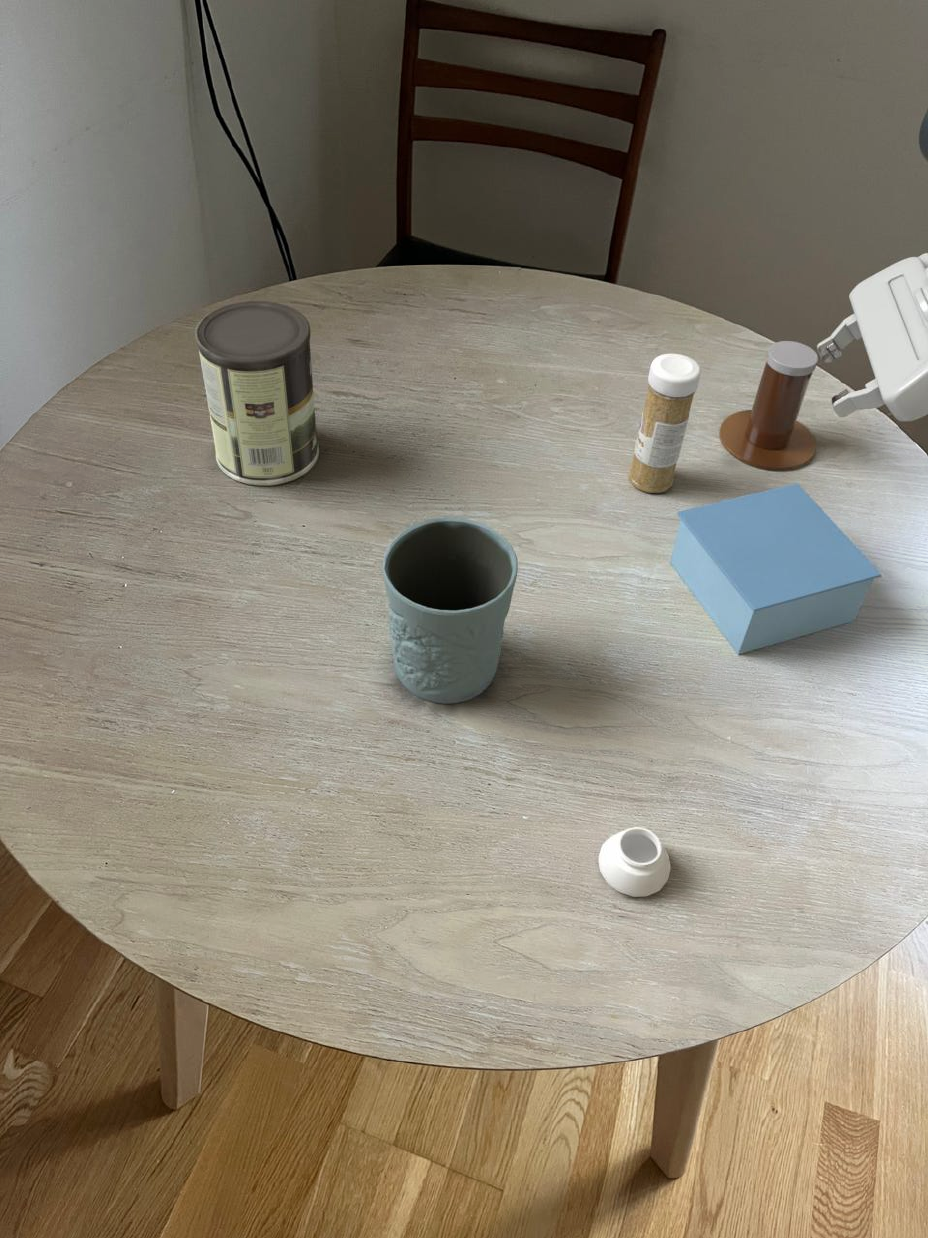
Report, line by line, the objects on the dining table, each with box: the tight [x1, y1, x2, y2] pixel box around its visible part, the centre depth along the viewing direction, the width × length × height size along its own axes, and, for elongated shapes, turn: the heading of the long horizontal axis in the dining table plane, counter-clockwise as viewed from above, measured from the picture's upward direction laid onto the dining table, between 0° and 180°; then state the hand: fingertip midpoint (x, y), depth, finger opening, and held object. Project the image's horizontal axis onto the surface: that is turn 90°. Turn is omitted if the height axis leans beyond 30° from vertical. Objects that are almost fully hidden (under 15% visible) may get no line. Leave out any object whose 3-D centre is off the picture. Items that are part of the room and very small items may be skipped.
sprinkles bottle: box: [628, 353, 702, 494], centre depth 99 cm, size 5×5×13 cm
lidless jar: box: [597, 826, 672, 898], centre depth 73 cm, size 5×3×5 cm
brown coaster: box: [718, 409, 817, 472], centre depth 109 cm, size 10×10×1 cm
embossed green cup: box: [382, 516, 519, 705], centre depth 82 cm, size 10×10×12 cm
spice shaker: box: [745, 340, 819, 450], centre depth 106 cm, size 5×5×10 cm
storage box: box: [669, 482, 883, 655], centre depth 92 cm, size 13×13×6 cm
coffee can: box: [194, 300, 320, 487], centre depth 99 cm, size 10×10×14 cm
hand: (827, 381), depth 103 cm, fingers open, 8 cm apart
